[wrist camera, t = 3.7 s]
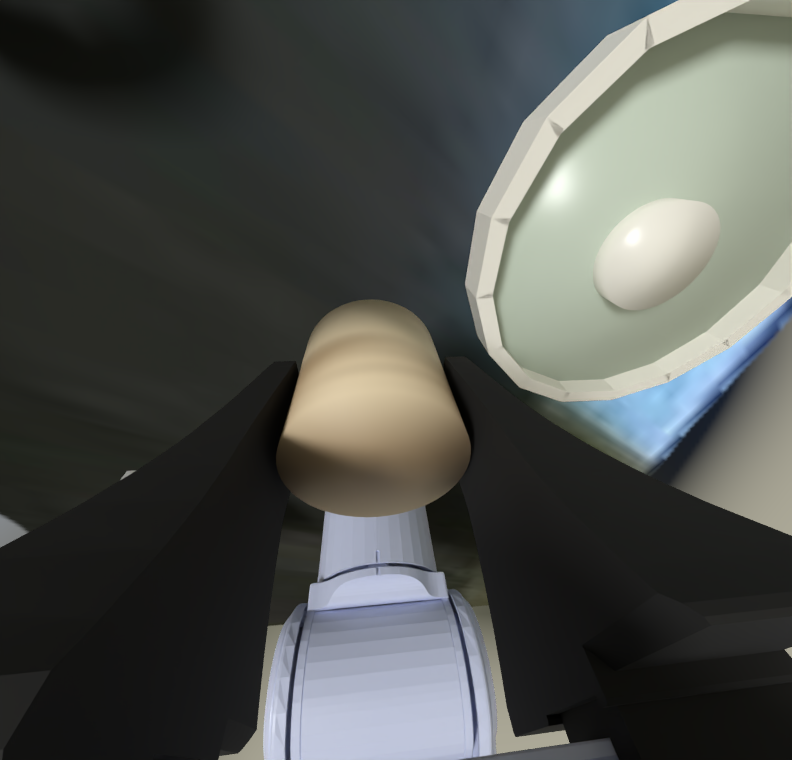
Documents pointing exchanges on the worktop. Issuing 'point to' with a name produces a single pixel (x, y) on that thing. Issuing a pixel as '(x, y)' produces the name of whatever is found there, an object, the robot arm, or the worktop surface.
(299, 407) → the maple bead
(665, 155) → the groove tray
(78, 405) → the worktop surface
